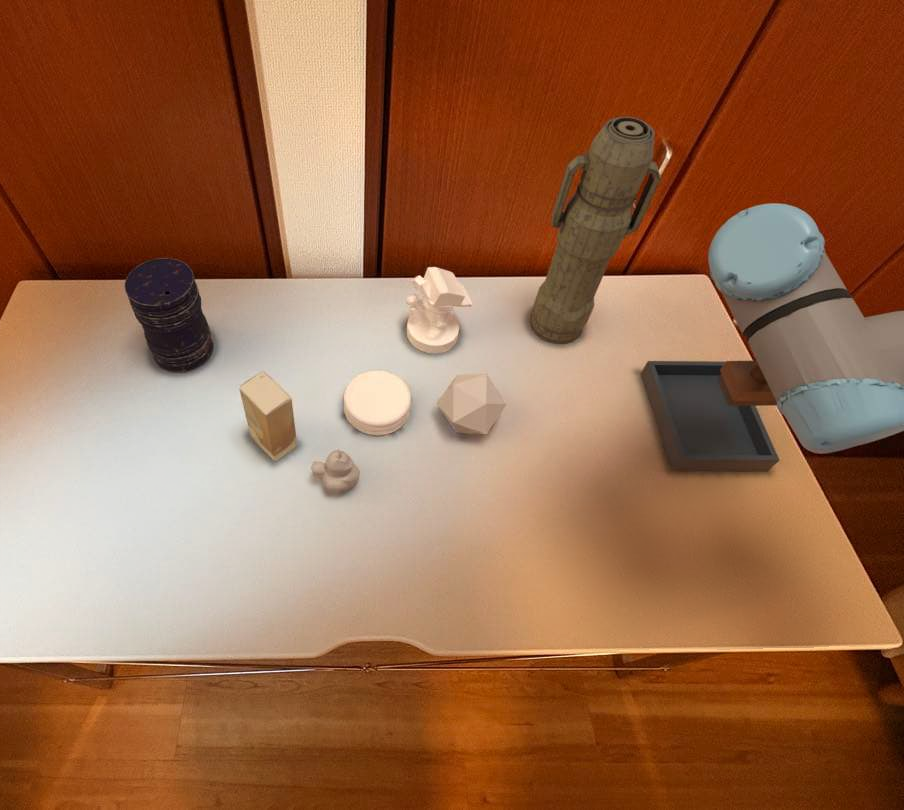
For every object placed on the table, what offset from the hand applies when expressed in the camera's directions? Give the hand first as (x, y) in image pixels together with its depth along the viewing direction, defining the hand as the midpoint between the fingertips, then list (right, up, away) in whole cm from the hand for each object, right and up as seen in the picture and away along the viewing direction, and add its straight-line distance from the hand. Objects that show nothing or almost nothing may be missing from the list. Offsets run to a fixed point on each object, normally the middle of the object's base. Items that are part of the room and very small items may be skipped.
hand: (795, 349), depth 77 cm
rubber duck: (-58, -18, +9) cm, 61 cm away
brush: (-3, -5, +4) cm, 8 cm away
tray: (-3, -9, +15) cm, 18 cm away
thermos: (-22, +6, +26) cm, 35 cm away
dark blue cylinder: (-83, +2, +23) cm, 86 cm away
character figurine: (-42, +5, +25) cm, 49 cm away
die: (-39, -9, +15) cm, 43 cm away
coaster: (-52, -8, +16) cm, 55 cm away
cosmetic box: (-67, -12, +13) cm, 69 cm away
